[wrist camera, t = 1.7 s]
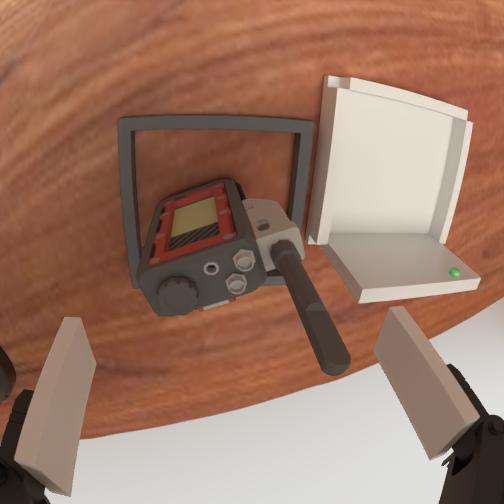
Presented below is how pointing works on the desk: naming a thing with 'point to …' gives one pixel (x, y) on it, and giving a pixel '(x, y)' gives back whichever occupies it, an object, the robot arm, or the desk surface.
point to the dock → (388, 190)
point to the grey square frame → (209, 121)
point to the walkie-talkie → (230, 260)
